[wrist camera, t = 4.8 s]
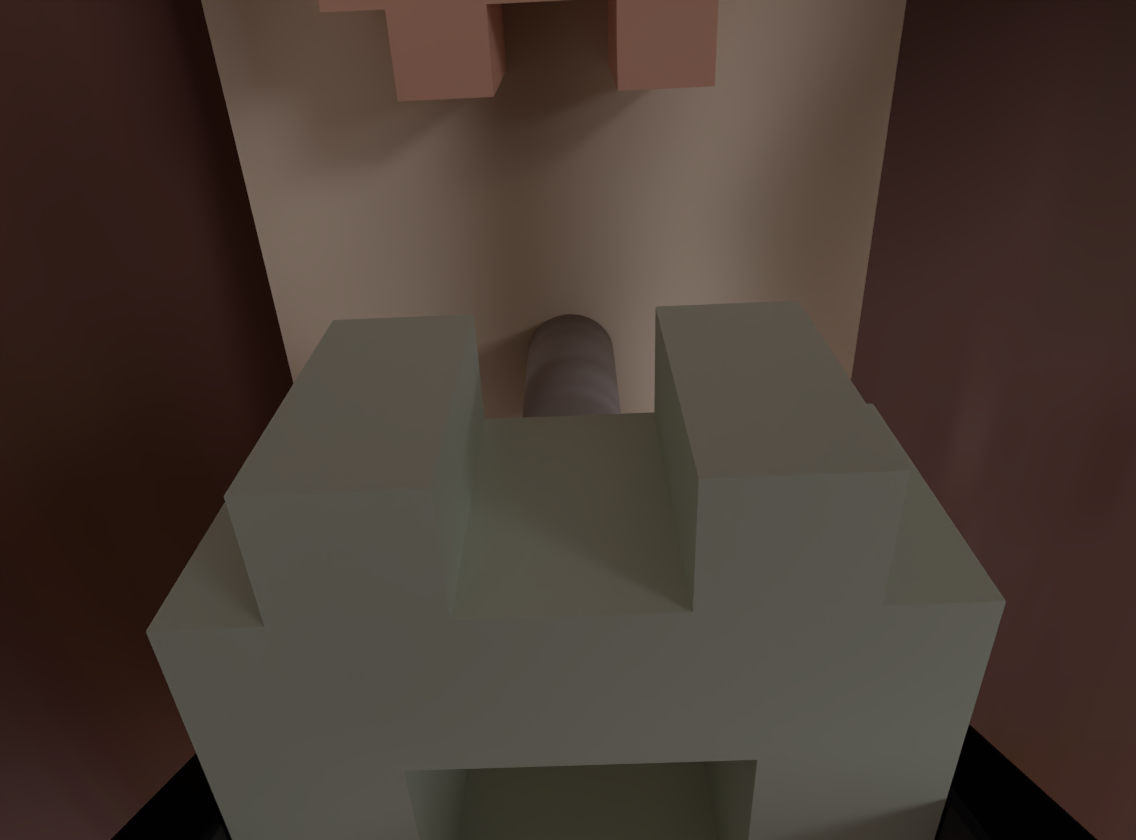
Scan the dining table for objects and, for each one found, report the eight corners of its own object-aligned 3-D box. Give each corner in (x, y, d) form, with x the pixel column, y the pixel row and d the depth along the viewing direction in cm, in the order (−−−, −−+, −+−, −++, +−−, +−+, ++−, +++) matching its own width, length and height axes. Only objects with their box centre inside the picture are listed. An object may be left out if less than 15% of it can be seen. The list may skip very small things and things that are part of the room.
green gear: (890, 296, 8) (1047, 465, 5) (800, 839, 12) (863, 1075, 10) (243, 323, 8) (90, 501, 6) (382, 851, 13) (335, 1088, 10)
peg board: (950, -567, 12) (1218, -923, 7) (819, 445, 20) (896, 599, 15) (118, -514, 12) (-182, -822, 7) (337, 463, 20) (267, 622, 16)
